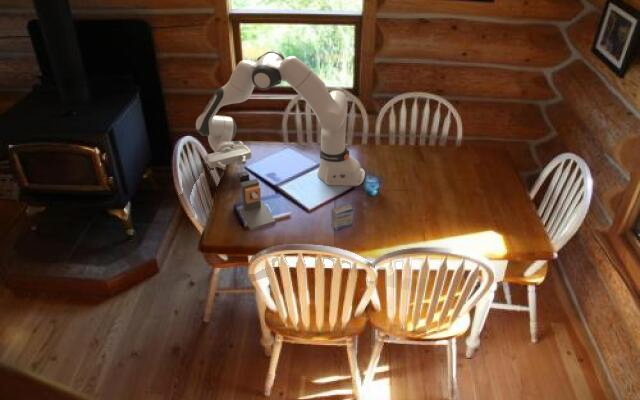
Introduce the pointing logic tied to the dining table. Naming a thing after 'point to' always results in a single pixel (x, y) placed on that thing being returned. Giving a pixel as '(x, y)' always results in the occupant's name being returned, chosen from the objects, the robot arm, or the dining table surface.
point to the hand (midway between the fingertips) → (234, 165)
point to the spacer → (250, 190)
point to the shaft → (243, 178)
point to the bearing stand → (255, 209)
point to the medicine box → (341, 216)
